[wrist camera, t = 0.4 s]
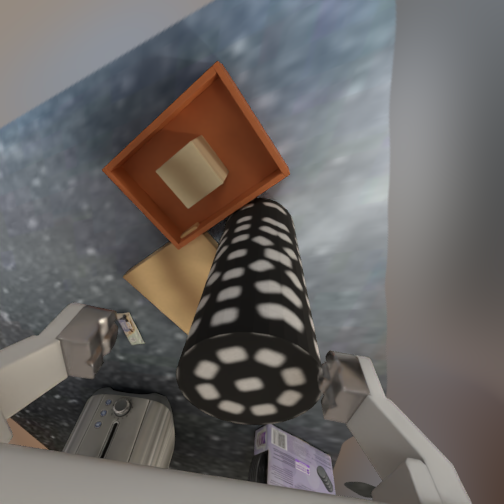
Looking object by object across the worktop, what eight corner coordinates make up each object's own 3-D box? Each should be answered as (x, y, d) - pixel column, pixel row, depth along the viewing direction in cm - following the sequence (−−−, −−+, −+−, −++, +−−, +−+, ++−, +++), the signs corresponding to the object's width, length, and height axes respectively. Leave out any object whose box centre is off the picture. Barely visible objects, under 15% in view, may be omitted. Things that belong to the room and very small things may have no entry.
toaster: (179, 387, 49) (135, 534, 33) (176, 461, 64) (144, 587, 48) (87, 374, 49) (-5, 516, 32) (106, 451, 63) (49, 575, 47)
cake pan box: (249, 428, 55) (241, 556, 40) (265, 419, 53) (263, 550, 38) (314, 461, 60) (329, 584, 45) (331, 454, 58) (353, 580, 43)
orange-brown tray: (222, 64, 24) (217, 60, 22) (288, 167, 28) (290, 174, 26) (115, 163, 29) (101, 170, 27) (184, 239, 34) (178, 250, 31)
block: (202, 134, 27) (190, 140, 23) (229, 171, 29) (223, 183, 25) (170, 161, 28) (154, 171, 25) (198, 194, 30) (187, 209, 26)
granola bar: (146, 341, 43) (143, 346, 42) (133, 342, 43) (130, 347, 43) (130, 309, 40) (127, 314, 39) (116, 311, 40) (112, 316, 39)
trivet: (198, 220, 32) (195, 225, 31) (260, 292, 37) (260, 299, 36) (127, 270, 36) (122, 277, 35) (191, 328, 41) (189, 336, 40)
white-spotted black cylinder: (240, 267, 35) (212, 432, 18) (214, 210, 31) (148, 350, 14) (302, 250, 33) (337, 414, 16) (283, 188, 30) (302, 316, 12)
